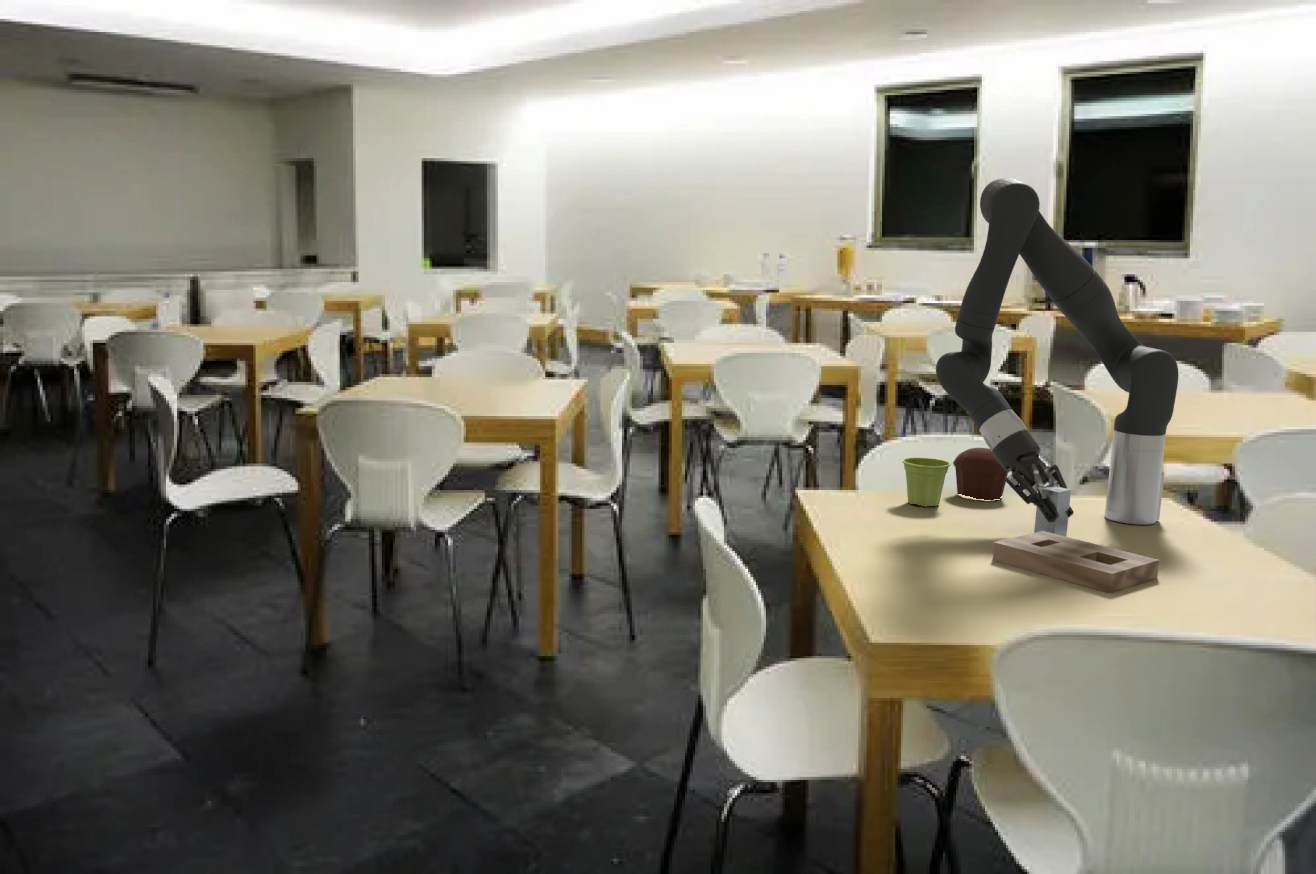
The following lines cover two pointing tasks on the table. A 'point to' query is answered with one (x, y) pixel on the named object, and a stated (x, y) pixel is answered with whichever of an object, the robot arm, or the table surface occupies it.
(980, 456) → the muffin
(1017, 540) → the plate
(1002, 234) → the robot arm
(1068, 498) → the square bit
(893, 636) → the table surface
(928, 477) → the plant pot
